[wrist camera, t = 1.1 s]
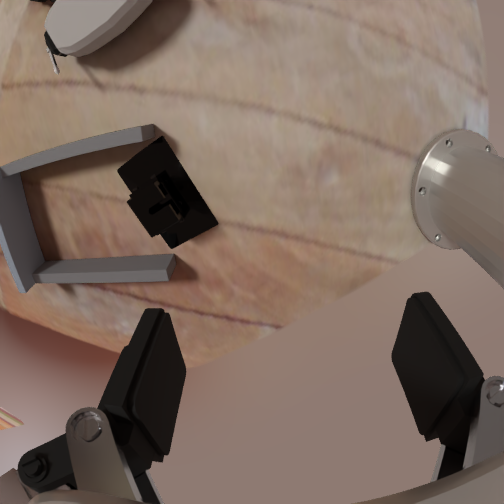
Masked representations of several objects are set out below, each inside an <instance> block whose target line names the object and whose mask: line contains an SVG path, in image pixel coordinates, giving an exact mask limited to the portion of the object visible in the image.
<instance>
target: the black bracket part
mask: <svg viewBox="0 0 504 504" xmlns="http://www.w3.org/2000/svg"><path fill="white" fill-rule="evenodd" d="M117 172H118V173H119V175H120V176H121V178H122V179H123V181H124V182H125V184H126V185H127V187H128V188H129V190H130V191H131V193H132V194H130V195H129V196H130V197H131V198H130V199H129V200H128V201H127V203H128V205H129V206H130V208H131V209H132V210H133V212H134V213H135V215H136V216H137V218H138V219H139V221H140V222H141V223H142V225H143V226H144V228H145V229H146V230H147V232H148V233H149V235H150V236H151V237H154V236H155V235H159V234H160V235H161V236H162V237H163V239H164V240H165V242H166V243H167V244H168V246H169V247H170V248H171V249H173V248H175V247H177V246H179V245H181V244H182V243H184V242H186V241H188V240H190V239H192V238H194V237H195V236H197V235H199V234H201V233H203V232H205V231H207V230H209V229H211V228H212V227H214V226H216V225H218V221H217V220H216V218H215V217H214V215H213V214H212V212H211V210H210V209H209V207H208V206H207V204H206V203H205V201H204V199H203V198H202V196H201V195H200V193H199V192H198V190H197V189H196V187H195V185H194V184H193V182H192V181H191V179H190V178H189V176H188V174H187V173H186V171H185V170H184V168H183V167H182V165H181V163H180V162H179V160H178V159H177V157H176V155H175V154H174V152H173V151H172V149H171V148H170V146H169V144H168V143H167V141H166V140H165V138H164V137H163V136H161V137H159V138H158V139H156V140H155V141H154V142H152V143H151V144H150V145H148V146H147V147H146V148H144V149H143V150H142V151H140V152H139V153H138V154H136V155H135V156H134V157H132V158H131V159H130V160H129V161H127V162H126V163H125V164H124V165H122V166H121V167H120V168H119V169H118V170H117Z"/></svg>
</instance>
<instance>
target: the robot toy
mask: <svg viewBox="0 0 504 504" xmlns="http://www.w3.org/2000/svg"><path fill="white" fill-rule="evenodd" d="M31 1H37V2H45V1H47V0H31ZM51 1H52V2H55V3H54V4H53V6H52V7H51V9H50V10H49V12H48V15H47V18H46V21H45V25H44V27H45V29H46V32H45V34H44V36H45V40H46V45H47V46H48V48H47V49H46V50H47V53H49V54H50V57H51V60H52V63H53V66H54V72H55V73H56V74H59V72H60V70H59V68H58V67H57V64H56V61H55V58H54V55H53V54H55V55H59V56H64V57H66V56H67V55H71V56H75V57H81V56H84V55H88V54H90V53H92V52H94V51H95V50H97V49H99V48H100V47H102V46H104V45H105V44H106V43H108V42H109V41H111V40H112V39H114V38H115V37H116V36H118V35H119V34H121V33H122V32H124V31H125V30H126V29H127V28H128V27H129V26H130V25H131V24H132V23H133V22H134V21H135V20H136V19H137V18H138V17H139V16H140V15H141V14H142V13H143V11H144V10H145V9H146V8H147V7H148V6H149V5H150V4H151V2H152V1H153V0H51Z"/></svg>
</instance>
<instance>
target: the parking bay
mask: <svg viewBox="0 0 504 504" xmlns="http://www.w3.org/2000/svg"><path fill="white" fill-rule="evenodd" d="M154 137H155V134H154V126H153V124H149V125H144V126H139V127H134V128H129V129H124V130H120V131H115V132H111V133H106V134H102V135H98V136H94V137H90V138H86V139H83V140H79V141H75V142H72V143H68V144H65V145H61V146H58V147H55V148H52V149H48V150H45V151H42V152H39V153H36V154H33V155H30V156H27V157H25V158H22V159H19V160H16V161H14V162H11V163H9V164H6V165H4V166H1V167H0V244H1V247H2V250H3V253H4V255H5V258H6V261H7V263H8V266H9V269H10V271H11V273H12V276H13V278H14V281H15V283H16V285H17V288H18V290H19V292H20V293H27V292H28V290H29V289H30V288H31V287H32V286H33V285H34V284H35V283H114V282H154V281H169V279H170V277H171V275H172V273H173V271H174V269H175V266H176V261H175V256H174V254H162V255H144V256H126V257H109V258H92V259H74V260H57V261H45V260H44V257H43V254H42V251H41V249H40V246H39V243H38V239H37V236H36V233H35V230H34V227H33V223H32V220H31V216H30V213H29V209H28V205H27V201H26V197H25V193H24V189H23V184H22V180H21V175H20V172H21V171H24V170H27V169H31V168H34V167H37V166H40V165H44V164H47V163H50V162H54V161H58V160H61V159H65V158H69V157H72V156H76V155H80V154H84V153H89V152H93V151H97V150H102V149H106V148H111V147H116V146H121V145H126V144H131V143H136V142H142V141H145V140H148V139H151V138H154Z"/></svg>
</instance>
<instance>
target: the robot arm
mask: <svg viewBox="0 0 504 504" xmlns="http://www.w3.org/2000/svg"><path fill="white" fill-rule="evenodd" d="M419 189H420V190H419ZM411 205H412V210H413V215H414V218H415V221H416V223H417V225H418V227H419V229H420V230H421V232H422V233H423V234H424V235H425V236H426V237H427V238H428V239H429V240H430V241H431V242H432V243H433V244H435V245H437V246H439V247H441V248H445V249H460V248H462V249H463V250H464V251H465V252H466V253H468V254H469V255H470V256H471V257H472V258H473V259H474V260H475V261H476V262H477V263H478V264H479V265H480V266H481V267H482V268H484V270H485V271H486V272H487V273H488V274H489V275H490V276H491V277H492V278H493V279H495V280H496V282H497V283H498V284H499V285H500V286H501V287H502V288H503V289H504V158H502V157H500V156H498V154H497V152H496V150H495V149H494V147H493V146H492V144H491V143H490V142H489V141H488V140H487V139H486V138H485V137H483V136H482V135H480V134H479V133H476V132H473V131H470V130H464V129H455V130H450V131H447V132H445V133H443V134H441V135H440V136H438V137H437V138H435V139H434V140H433V141H432V142H431V143H430V144H429V145H428V146H427V148H426V149H425V151H424V152H423V154H422V155H421V157H420V159H419V161H418V164H417V166H416V169H415V172H414V176H413V179H412V187H411ZM392 362H393V365H394V367H395V369H396V372H397V375H398V377H399V380H400V382H401V385H402V387H403V389H404V392H405V395H406V398H407V400H408V403H409V406H410V408H411V411H412V414H413V416H414V419H415V422H416V425H417V428H418V431H419V433H420V434H421V435H424V436H425V440H426V442H427V441H430V440H433V439H435V438H439V440H440V442H441V447H440V451H439V455H438V459H437V462H436V466H435V469H434V473H433V476H432V479H431V482H430V483H428V484H425V485H422V486H419V487H416V488H413V489H410V490H407V491H403V492H400V493H396V494H392V495H389V496H385V497H381V498H377V499H372V500H368V501H364V502H358V503H354V504H504V378H503V377H500V376H492V377H489V378H488V379H486V380H485V379H484V378H483V372H482V370H481V369H480V367H479V366H478V364H477V362H476V361H475V359H474V357H473V356H472V354H471V352H470V351H469V349H468V348H467V346H466V345H465V343H464V341H463V340H462V338H461V337H460V335H459V334H458V332H457V331H456V329H455V328H454V327H453V325H452V323H451V322H450V321H449V319H448V318H447V316H446V315H445V313H444V312H443V311H442V309H441V308H440V306H439V305H438V304H437V302H436V301H435V299H434V298H433V297H432V295H431V294H430V293H429V292H420V293H414V294H412V296H411V298H408V300H407V303H406V306H405V310H404V314H403V318H402V321H401V324H400V328H399V331H398V335H397V338H396V341H395V345H394V348H393V351H392ZM185 377H186V366H185V363H184V360H183V357H182V354H181V351H180V347H179V344H178V341H177V338H176V334H175V331H174V328H173V324H172V321H171V317H170V314H169V313H165V312H164V310H163V309H162V308H147V309H145V311H144V313H143V315H142V317H141V319H140V321H139V323H138V325H137V328H136V330H135V332H134V334H133V336H132V338H131V341H130V343H129V345H127V346H125V347H124V349H123V350H122V352H121V354H120V357H119V359H118V361H117V363H116V366H115V368H114V370H113V372H112V375H111V377H110V379H109V382H108V384H107V386H106V389H105V391H104V394H103V396H102V398H101V401H100V403H99V406H98V408H94V407H86V408H82V409H79V410H77V411H76V412H75V413H73V414H72V415H71V416H70V418H69V419H68V421H67V424H66V433H65V434H63V435H61V436H59V437H57V438H55V439H53V440H51V441H49V442H47V443H45V444H43V445H41V446H38V447H36V448H34V449H32V450H30V451H28V452H27V453H25V454H24V455H23V456H22V457H21V459H20V461H19V464H18V470H15V469H14V468H13V469H11V470H10V471H8V472H7V473H5V474H4V475H2V476H1V477H0V504H164V502H163V500H162V498H161V496H160V494H159V492H158V490H157V488H156V486H155V484H154V482H153V479H152V477H151V475H150V473H149V471H148V469H150V468H151V464H152V461H156V462H163V458H164V455H168V454H169V452H170V447H171V442H172V437H173V433H174V428H175V423H176V418H177V413H178V409H179V404H180V399H181V395H182V390H183V386H184V381H185Z"/></svg>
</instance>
